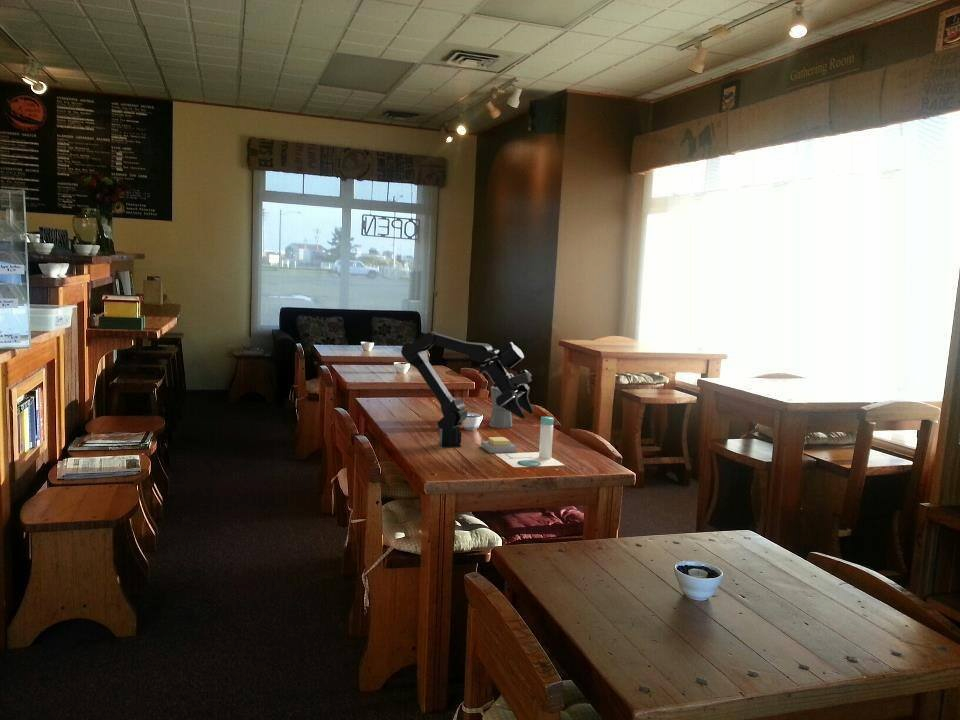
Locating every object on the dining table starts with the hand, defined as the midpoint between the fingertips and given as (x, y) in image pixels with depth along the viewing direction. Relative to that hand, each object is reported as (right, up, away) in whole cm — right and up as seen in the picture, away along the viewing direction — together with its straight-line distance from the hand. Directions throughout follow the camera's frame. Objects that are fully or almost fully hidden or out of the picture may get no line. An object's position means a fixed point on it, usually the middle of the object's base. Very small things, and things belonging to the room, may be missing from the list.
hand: (528, 415), depth 247 cm
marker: (+5, -13, -3) cm, 14 cm away
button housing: (-9, -12, +6) cm, 16 cm away
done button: (-9, -10, +6) cm, 15 cm away
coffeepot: (-7, -8, +48) cm, 49 cm away
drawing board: (0, -14, -6) cm, 15 cm away
